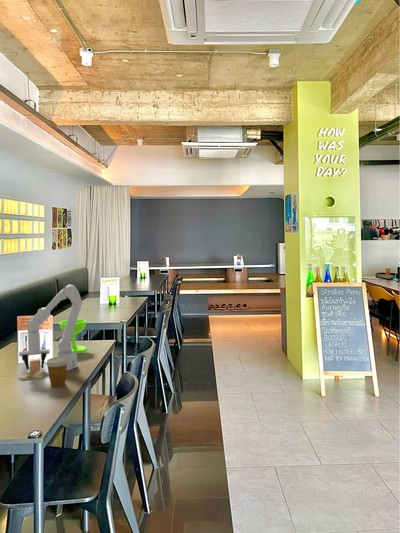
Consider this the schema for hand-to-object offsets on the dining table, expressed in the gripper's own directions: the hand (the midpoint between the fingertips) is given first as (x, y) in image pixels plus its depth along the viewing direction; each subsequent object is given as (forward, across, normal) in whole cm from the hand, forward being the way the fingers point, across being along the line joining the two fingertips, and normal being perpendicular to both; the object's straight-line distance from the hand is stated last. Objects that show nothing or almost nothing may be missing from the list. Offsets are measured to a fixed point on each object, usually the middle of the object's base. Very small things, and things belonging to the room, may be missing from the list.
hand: (35, 368), depth 210 cm
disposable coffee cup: (+2, +13, -26) cm, 29 cm away
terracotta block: (+2, 0, 0) cm, 2 cm away
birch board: (+1, 0, -9) cm, 9 cm away
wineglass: (+2, +18, +35) cm, 40 cm away
